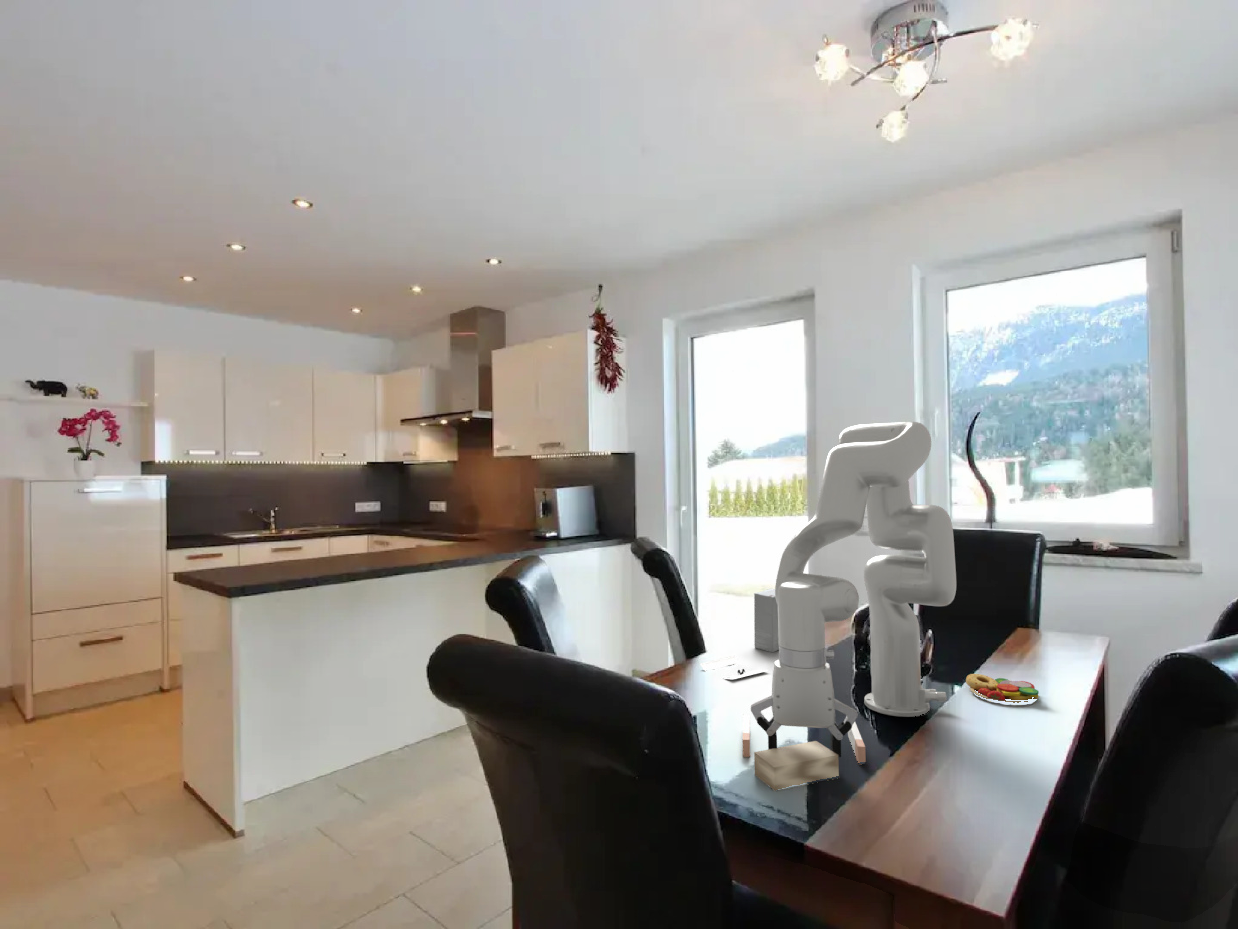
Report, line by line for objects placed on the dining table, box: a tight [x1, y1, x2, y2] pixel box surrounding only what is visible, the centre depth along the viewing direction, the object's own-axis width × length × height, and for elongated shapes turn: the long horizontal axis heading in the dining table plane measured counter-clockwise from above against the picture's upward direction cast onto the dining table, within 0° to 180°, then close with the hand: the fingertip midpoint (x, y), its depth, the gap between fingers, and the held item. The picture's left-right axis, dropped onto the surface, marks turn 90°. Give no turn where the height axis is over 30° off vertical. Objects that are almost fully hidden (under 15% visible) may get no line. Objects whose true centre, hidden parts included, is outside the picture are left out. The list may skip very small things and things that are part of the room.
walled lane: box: [742, 713, 867, 764], centre depth 119 cm, size 20×12×3 cm, turn 79°
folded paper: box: [699, 655, 769, 680], centre depth 164 cm, size 12×12×2 cm
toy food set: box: [965, 673, 1040, 703], centre depth 142 cm, size 13×13×3 cm
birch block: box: [753, 740, 840, 792], centre depth 107 cm, size 12×6×4 cm, turn 109°
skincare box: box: [753, 588, 779, 653], centre depth 184 cm, size 8×7×16 cm
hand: (804, 758), depth 110 cm, fingers open, 9 cm apart
